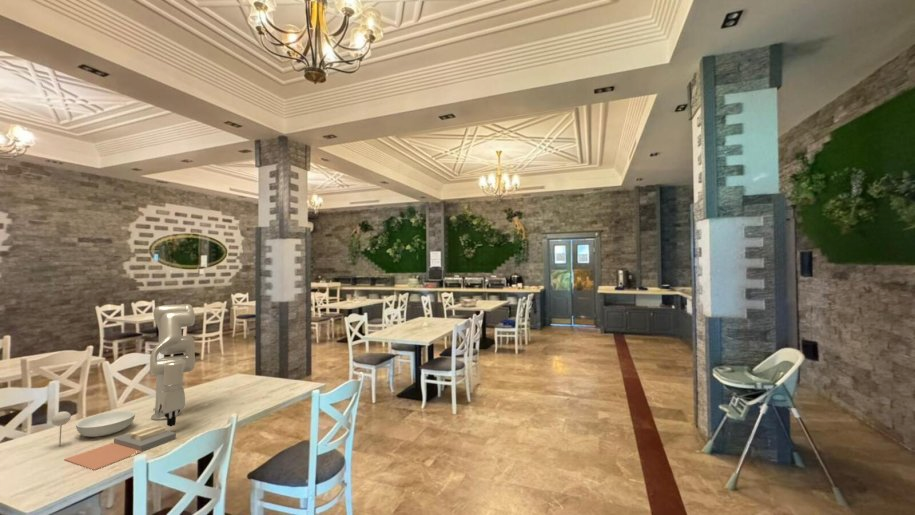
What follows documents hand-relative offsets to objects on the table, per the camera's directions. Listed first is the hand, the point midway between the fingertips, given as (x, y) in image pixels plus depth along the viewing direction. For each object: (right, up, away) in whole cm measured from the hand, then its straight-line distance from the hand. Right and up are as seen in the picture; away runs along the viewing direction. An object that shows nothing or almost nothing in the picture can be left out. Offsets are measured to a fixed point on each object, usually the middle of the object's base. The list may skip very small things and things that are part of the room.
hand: (171, 425), depth 178 cm
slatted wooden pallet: (-4, 0, -9) cm, 10 cm away
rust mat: (-10, -2, -24) cm, 26 cm away
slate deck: (-4, -3, -10) cm, 11 cm away
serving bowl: (-31, -3, 0) cm, 32 cm away
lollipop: (-38, -3, -15) cm, 41 cm away
